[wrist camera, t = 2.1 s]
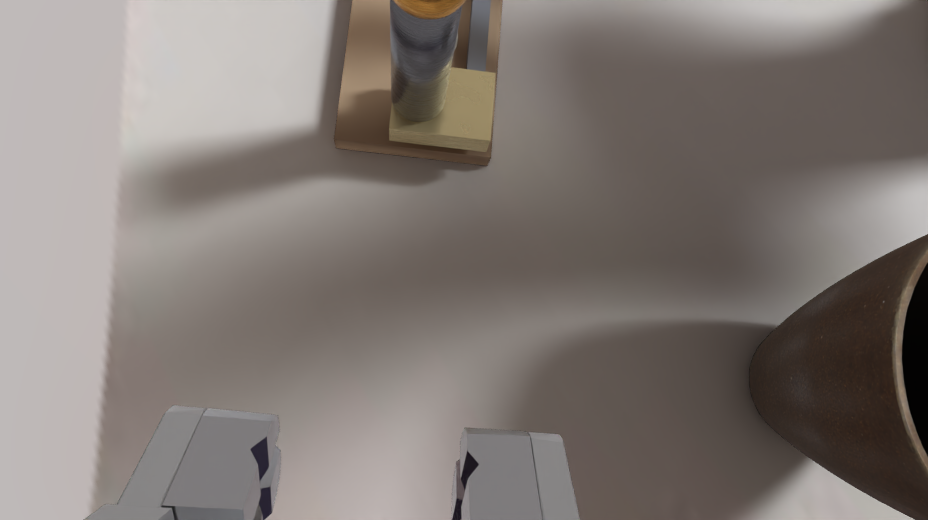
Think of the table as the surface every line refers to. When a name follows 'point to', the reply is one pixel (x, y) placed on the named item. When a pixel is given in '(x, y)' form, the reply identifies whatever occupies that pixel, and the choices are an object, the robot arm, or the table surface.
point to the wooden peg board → (370, 78)
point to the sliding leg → (435, 80)
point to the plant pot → (857, 379)
